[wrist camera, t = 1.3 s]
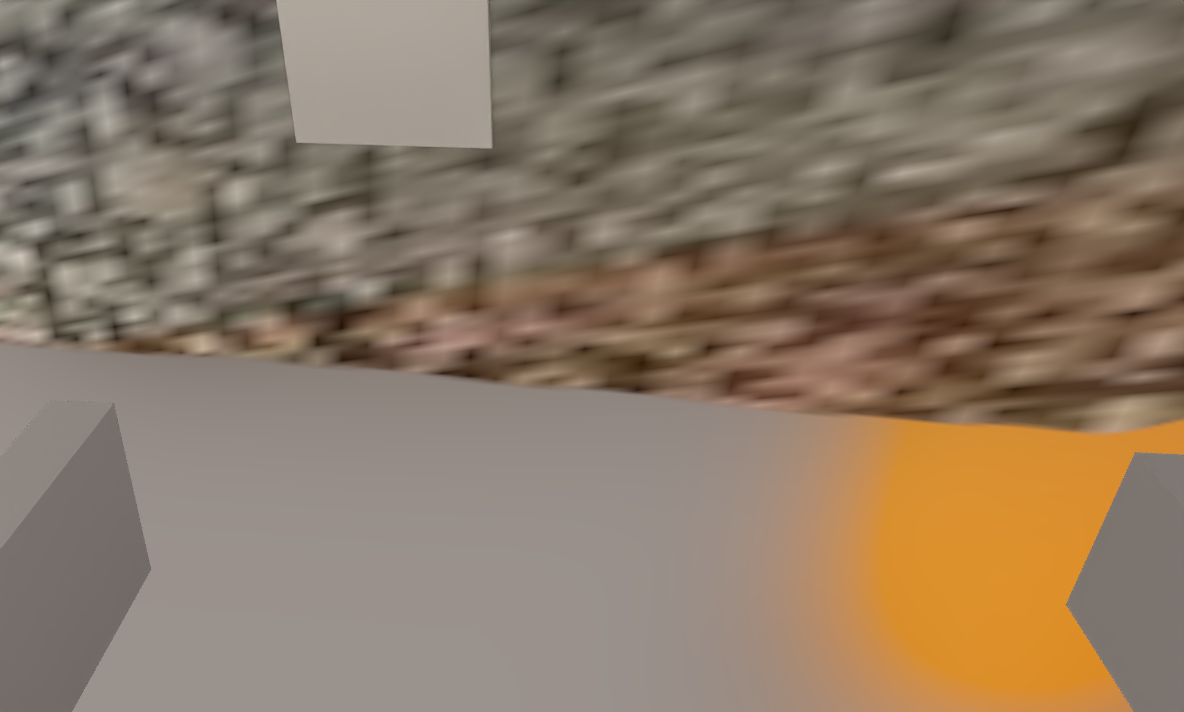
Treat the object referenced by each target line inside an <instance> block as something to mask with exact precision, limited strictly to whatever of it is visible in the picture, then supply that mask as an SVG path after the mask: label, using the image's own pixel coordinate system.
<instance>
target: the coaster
mask: <svg viewBox="0 0 1184 712" xmlns="http://www.w3.org/2000/svg"><path fill="white" fill-rule="evenodd" d="M276 2H277V9H278V16H279V23H280V30H281V37H282V44H283V51H284V58H285V66H286V73H287V80H288V87H289V94H290V101H291V108H292V115H293V122H294V129H295V137H296V143H322V144H356V145H390V146H424V147H458V148H492V147H493V144H494V142H493V107H492V73H491V38H490V3H489V0H276Z"/></svg>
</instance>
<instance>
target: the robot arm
mask: <svg viewBox="0 0 1184 712" xmlns="http://www.w3.org/2000/svg"><path fill="white" fill-rule="evenodd" d="M150 570H151V567H150V563H149V558H148V553H147V549H146V544H145V541H144V536H143V532H142V527H141V523H140V518H139V513H138V509H137V504H136V500H135V495H134V491H133V486H132V482H131V478H130V473H129V469H128V464H127V460H126V455H125V451H124V446H123V442H122V437H121V433H120V429H119V424H118V419H117V416H116V411H115V406H114V403H95V402H74V401H73V402H72V401H53V400H51V401H49V403H48V404H47V405H46V406H45V407H44V408H43V409H42V410H41V411H40V412H39V414H38V415H37V416H36V417H35V418H34V419H33V420H32V421H31V423H30V424H29V425H28V426H27V427H26V428H25V429H24V430H23V432H22V433H21V434H20V435H19V436H18V437H17V438H16V439H15V441H14V442H13V443H12V444H11V445H10V446H9V447H8V448H7V449H6V451H5V452H4V453H3V454H2V455H1V456H0V712H72V710H73V709H74V707H75V705H76V703H77V702H78V700H79V698H80V696H81V694H82V693H83V690H84V689H85V687H86V685H87V684H88V682H89V680H90V678H91V676H92V675H93V673H94V671H95V669H96V667H97V666H98V664H99V662H100V660H101V658H102V657H103V655H104V653H105V651H106V649H107V648H108V646H109V644H110V642H111V641H112V639H113V637H114V635H115V633H116V632H117V630H118V628H119V626H120V624H121V623H122V621H123V619H124V617H125V615H126V614H127V612H128V610H129V608H130V606H131V604H132V603H133V601H134V599H135V597H136V595H137V593H138V592H139V590H140V588H141V586H142V585H143V583H144V581H145V579H146V578H147V576H148V574H149V572H150ZM1066 605H1067V607H1068V608H1069V610H1070V611H1071V613H1072V615H1073V616H1074V618H1075V619H1076V621H1077V623H1078V624H1079V626H1080V627H1081V629H1082V630H1083V632H1084V634H1085V635H1086V637H1087V638H1088V640H1089V641H1090V643H1091V645H1092V646H1093V648H1094V649H1095V651H1096V653H1097V654H1098V656H1099V657H1100V659H1101V660H1102V662H1103V664H1104V665H1105V667H1106V668H1107V670H1108V671H1109V673H1110V674H1111V676H1112V678H1113V679H1114V681H1115V683H1116V684H1117V686H1118V687H1119V689H1120V690H1121V692H1122V694H1123V695H1124V697H1125V698H1126V700H1127V701H1128V703H1129V705H1130V706H1131V708H1132V709H1133V711H1134V712H1184V455H1179V454H1158V453H1137V452H1136V453H1135V454H1134V456H1133V458H1132V461H1131V463H1130V465H1129V467H1128V469H1127V472H1126V474H1125V476H1124V478H1123V481H1122V483H1121V485H1120V487H1119V489H1118V491H1117V494H1116V496H1115V498H1114V500H1113V503H1112V505H1111V507H1110V509H1109V511H1108V513H1107V516H1106V518H1105V520H1104V522H1103V525H1102V527H1101V529H1100V531H1099V533H1098V536H1097V538H1096V540H1095V542H1094V544H1093V546H1092V549H1091V551H1090V553H1089V555H1088V557H1087V560H1086V562H1085V564H1084V566H1083V568H1082V571H1081V573H1080V575H1079V577H1078V580H1077V582H1076V584H1075V586H1074V588H1073V590H1072V592H1071V595H1070V597H1069V599H1068V601H1067V604H1066Z"/></svg>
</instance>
